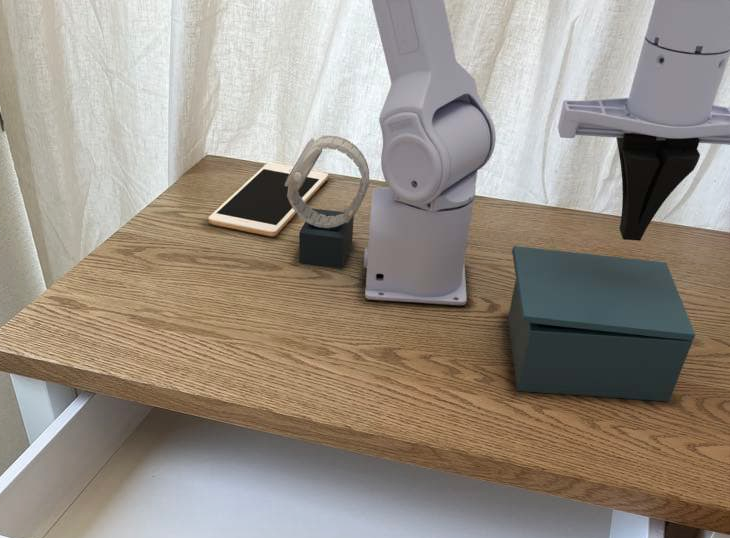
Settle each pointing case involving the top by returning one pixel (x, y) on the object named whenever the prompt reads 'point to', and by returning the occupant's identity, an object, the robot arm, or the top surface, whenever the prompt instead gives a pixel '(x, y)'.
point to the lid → (599, 293)
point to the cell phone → (264, 201)
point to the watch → (324, 227)
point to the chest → (593, 360)
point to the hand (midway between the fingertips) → (629, 234)
